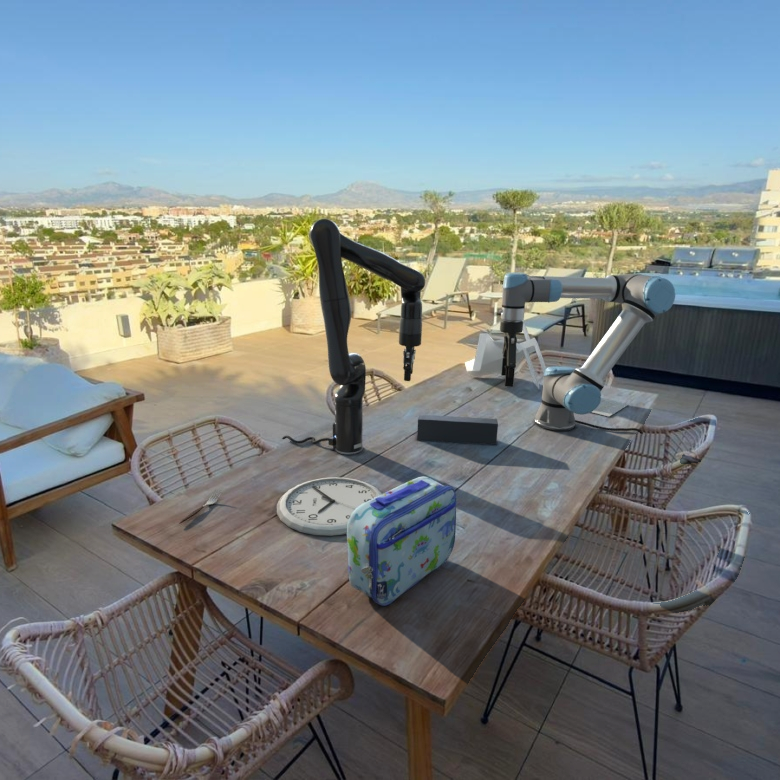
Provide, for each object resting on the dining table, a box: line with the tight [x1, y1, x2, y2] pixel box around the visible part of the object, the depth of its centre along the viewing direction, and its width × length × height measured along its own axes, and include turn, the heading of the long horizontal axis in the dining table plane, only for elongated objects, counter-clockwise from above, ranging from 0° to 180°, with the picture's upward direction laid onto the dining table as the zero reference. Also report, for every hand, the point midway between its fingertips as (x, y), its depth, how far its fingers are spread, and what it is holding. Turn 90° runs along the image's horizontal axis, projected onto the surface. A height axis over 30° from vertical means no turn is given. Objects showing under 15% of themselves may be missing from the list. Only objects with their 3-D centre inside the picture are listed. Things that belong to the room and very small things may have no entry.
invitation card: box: [591, 398, 629, 418], centre depth 226 cm, size 21×1×15 cm
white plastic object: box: [464, 318, 547, 390], centre depth 260 cm, size 37×45×31 cm
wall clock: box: [276, 476, 384, 537], centre depth 142 cm, size 30×2×30 cm
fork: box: [178, 489, 223, 525], centre depth 139 cm, size 3×16×2 cm, turn 160°
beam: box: [416, 414, 499, 446], centre depth 187 cm, size 28×5×8 cm, turn 83°
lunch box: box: [346, 475, 457, 607], centre depth 111 cm, size 26×11×21 cm, turn 134°
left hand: (408, 377), depth 180 cm, fingers open, 8 cm apart
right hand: (507, 380), depth 182 cm, fingers open, 13 cm apart
